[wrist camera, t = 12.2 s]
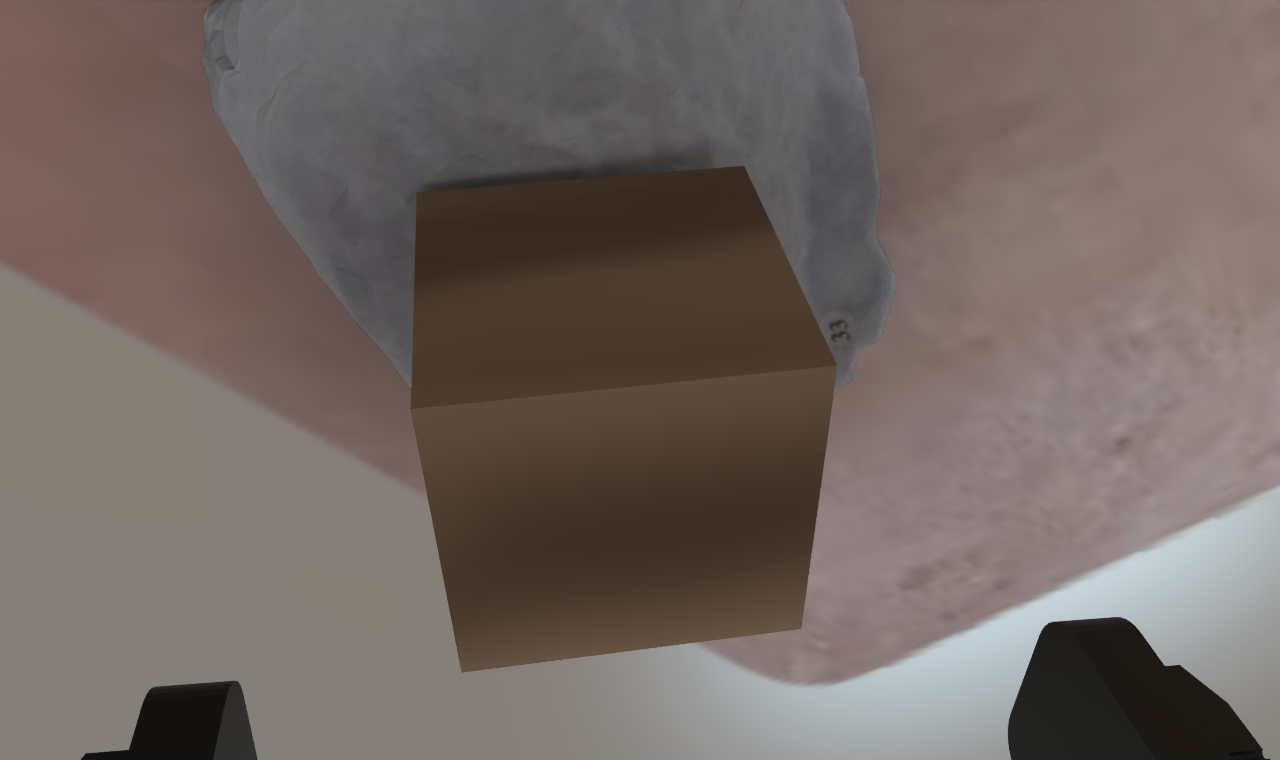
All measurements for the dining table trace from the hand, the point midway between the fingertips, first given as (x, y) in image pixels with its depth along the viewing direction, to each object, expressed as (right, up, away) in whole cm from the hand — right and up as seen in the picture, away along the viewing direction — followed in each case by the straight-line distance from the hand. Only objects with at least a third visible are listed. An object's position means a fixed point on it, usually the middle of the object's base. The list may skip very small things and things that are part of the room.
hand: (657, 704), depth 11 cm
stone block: (-1, +8, +10) cm, 13 cm away
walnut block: (-1, +4, +7) cm, 8 cm away
